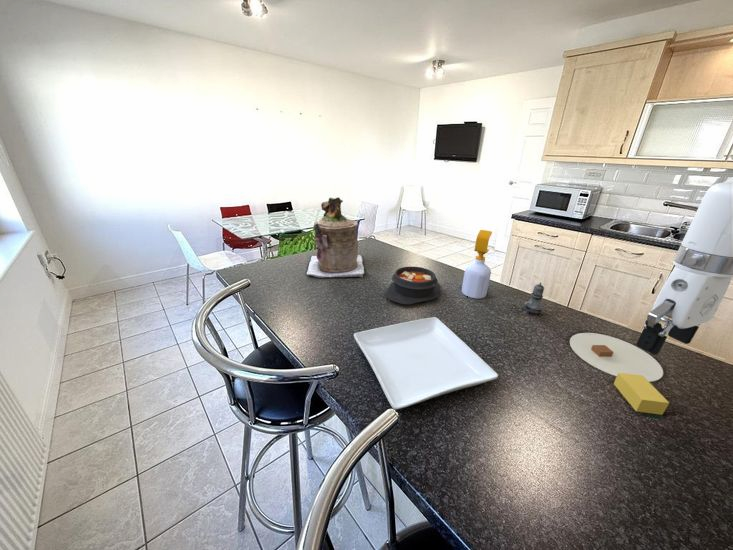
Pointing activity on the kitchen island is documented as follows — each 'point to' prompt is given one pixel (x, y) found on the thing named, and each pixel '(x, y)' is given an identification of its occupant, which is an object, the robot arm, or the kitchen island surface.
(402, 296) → the casserole
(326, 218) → the cookie jar
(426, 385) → the square plate
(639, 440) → the kitchen island surface
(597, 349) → the block
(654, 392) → the sponge
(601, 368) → the plate
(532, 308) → the grey chess piece
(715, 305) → the robot arm
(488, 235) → the soap bottle
